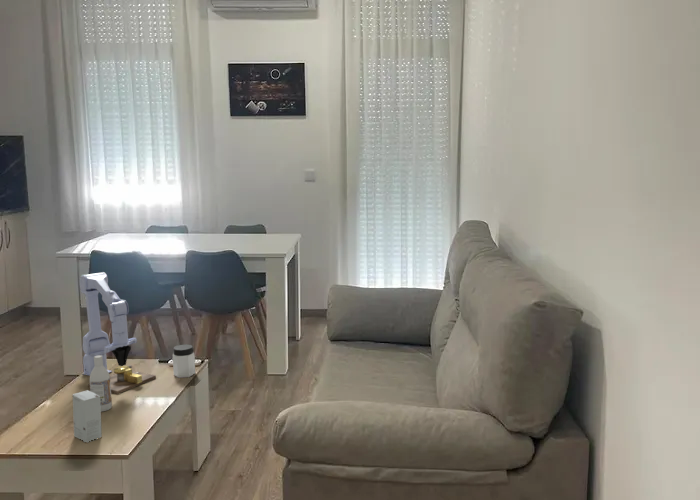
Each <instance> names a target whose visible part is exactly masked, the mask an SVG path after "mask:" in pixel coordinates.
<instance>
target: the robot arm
mask: <svg viewBox="0 0 700 500" xmlns="http://www.w3.org/2000/svg"><path fill="white" fill-rule="evenodd" d="M79 277H80V278H79V287H80V288H79V289H80V293H81V294H84V296H85V297H84V298H85V304H86V313H87V314H86V315H87V322H88V331H87V333H86V334H85V335H84V336H83V337H82V350H83V354H84V356H83V358H82V364H83V372H82V373H81V374H82V375H85V376H89V377H90V374H91V372H92V370H93V368H94V367H95V365H94V356H97V355H101V356H102V360H103V366H104V367H105V368H106V369H107V371H108V372H109V374H110V373H112V372H113V371H112V370H109V369H108V362H107V353H110V352H111V353H112V354H113V355H114V357H115V359H116V362H117V364H118V367H119V366H127V360H128V356H129V354H130V352H131V350H132V347H131V346H130V345H133V344H136V343H138V342H137V341H138V339H137V337H130V338H129V333H128V332H129V331H128V330H129V329H128V320H127V319H128V318H127V315H129V312H130V309H129V303H128V302H127V300H126V299H121V298H120V297H119V295H118V294H117V292H116V291H115V290H111V288H110V286H109V284H108V283H109V278H108V275H107V273H106V272H104V271H102V272H96V273H90V274H89V273H88V274H81V276H79ZM99 293H100V294H101V296H102V297H101V300H102V301H103V303H104V304H105V306H106V307H107V312H108V316H109V321H110V322H111V335H112V343H111V342H110V341H111V340H110V339H109V335H108V333H107V332H105V331H104V330H102V325H101V324H102V323H101V313H100V304H99ZM83 373H84V374H83Z"/></svg>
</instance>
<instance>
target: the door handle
mask: <svg viewBox="0 0 700 500" xmlns="http://www.w3.org/2000/svg"><path fill="white" fill-rule="evenodd" d="M132 371H133V368H132V369H129V365H123V366H119V365H118V366H116V367H114V368H113V373H114V374H124V381H127V382H131V383H136V384H139V383H141V382H142V375H138V374H133V373H132Z"/></svg>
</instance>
